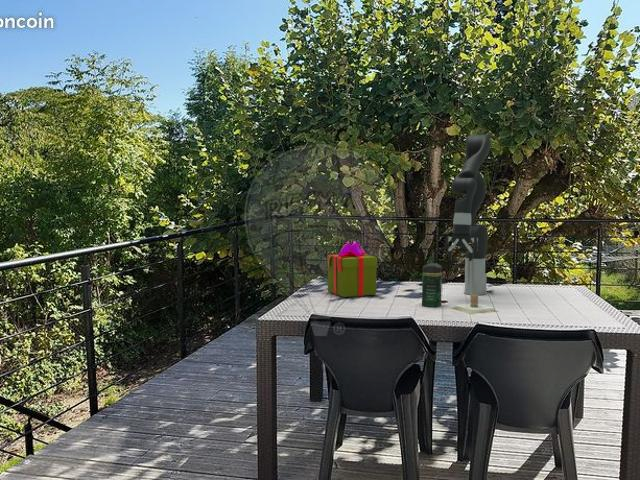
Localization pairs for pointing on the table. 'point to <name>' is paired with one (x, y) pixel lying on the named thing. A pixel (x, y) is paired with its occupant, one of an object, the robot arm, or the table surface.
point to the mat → (474, 313)
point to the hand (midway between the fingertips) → (460, 260)
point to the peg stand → (474, 306)
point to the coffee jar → (432, 285)
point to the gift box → (352, 272)
